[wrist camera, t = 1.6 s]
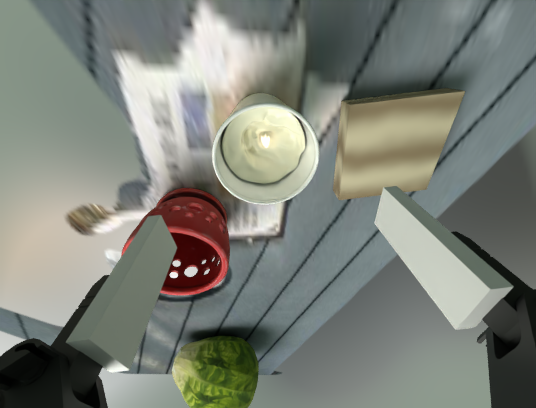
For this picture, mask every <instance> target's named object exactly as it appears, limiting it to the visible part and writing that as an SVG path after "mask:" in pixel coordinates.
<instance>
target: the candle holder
mask: <svg viewBox="0 0 536 408" xmlns="http://www.w3.org/2000/svg"><path fill="white" fill-rule="evenodd" d="M212 161H213V167H214V170H215V173H216V175H217V177H218V179H219V181H220V182H221V184H222V185H223V186H224V187H225V188H226V189H227V190H228V191H229V192H230V193H231V194H233V195H234V196H235V197H237V198H239V199H241V200H243V201H246V202H249V203H253V204H259V205H270V204H276V203H280V202H283V201H286V200H288V199H290V198H292V197H294V196H295V195H297V194H298V193H300V192H301V191H302V190H303V189H304V188H305V187H306V186H307V185H308V184H309V182H310V181H311V179H312V178H313V176H314V174H315V172H316V169H317V166H318V161H319V144H318V140H317V136H316V134H315V132H314V130H313V128H312V126H311V125H310V123H309V122H308V121H307V120H306V119H305V118H304V117H303V116H302V115H301V114H300V113H299V112H297V111H296V110H294V109H292V108H290V107H289V106H288V105H287V104H285V103H284V102H283V101H281V100H280V99H278V98H277V97H275V96H273V95H270V94H266V93H256V94H252V95H249V96H247V97H245V98H244V99H242V100H241V101H240V102H239V103H238V104H237V105H236V107H235V108H234V109H233V111H232V112H231V114H230V115H229V117H228V118H227V119H226V120H225V122H224V123H223V124H222V125H221V127H220V128H219V130H218V132H217V134H216V137H215V139H214V143H213V148H212Z"/></svg>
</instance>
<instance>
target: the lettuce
mask: <svg viewBox="0 0 536 408" xmlns="http://www.w3.org/2000/svg"><path fill="white" fill-rule="evenodd" d="M172 374H173V378H174V381H175V383H176V384H177V386H178V387H179V389H180V391H181V393H182V395H183V398H184V400H185V401H186V403H187V404H188V405H189V407H190V408H248V406H249V405H250V404H251V401H252V400H253V396H254V393H255V390H256V387H257V381H258V360H257V357H256V354H255V351H254V349H253V348H252V347H251V346H250V344H249V343H248V342H246V341H245V340H243V339H242V338H238V337H234V336H215V337H210V338H206V339H203V340H200V341H197V342H191V343H188V344H186V345H184V346H183V347H181V349H180V350H179V352H178V354H177V356H176V357H175V360H174V364H173V368H172Z"/></svg>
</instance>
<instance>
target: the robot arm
mask: <svg viewBox="0 0 536 408" xmlns="http://www.w3.org/2000/svg"><path fill="white" fill-rule="evenodd" d="M375 225H376V226H377V227H378V229H379V230H380V231H381V233H382V234H383V235H384V236H385V238H386V239H387V240H388V242H389V243H390V244H391V246H392V247H393V248H394V250H395V251H396V252H397V253H398V255H399V256H400V257H401V259H402V260H403V261H404V263H405V264H406V265H407V267H408V268H409V269H410V271H411V272H412V273H413V274H414V276H415V277H416V278H417V280H418V281H419V282H420V284H421V285H422V286H423V287H424V289H425V290H426V291H427V293H428V294H429V295H430V297H431V298H432V299H433V301H434V302H435V303H436V305H437V306H438V307H439V309H440V310H441V311H442V312H443V313H444V315H445V316H446V318H447V319H448V320H449V321H450V323H451V324H452V326H453V327H454V328H455V329H456V330H458V329H466V328H474V327H476V326H477V325H478V324H479V322H480V321H481V320H483V321H484V322H485V323H486V324H487V325H488V326H489V327H488V328H487V329H486V330H485V331H484V332H483V333H482V334H481V335H480V336H479V337H478V339H477V342H478V343H482V342H483V341H484V340H485V339H486V340H487V345H486V347H487V353H488V367H489V380H490V393H491V407H492V408H536V289H534V290H533V289H532V288H530V287H529V286H528V285H526V284H525V283H524V282H523V281H521V280H520V279H519V278H518V277H517V276H515V275H514V274H513V273H512V272H510V271H509V270H508V269H507V268H505V267H504V266H503V265H502V264H501V263H499V262H498V261H497V260H496V259H494V258H493V257H490V255H489V254H488V253H487V252H486V251H484V250H483V249H481V247H480V246H478V245H477V244H476V243H475V242H473V241H472V240H471V239H470V238H468V237H466V236H464V235H462V234H460V233H458V232H450V231H449V230H447V229H446V228H445V227H444V226H443V225H441V224H440V223H439V222H438V221H437V220H436V219H435V218H433V217H432V216H431V215H430V214H429V213H428V212H426V211H425V210H424V209H423V208H422V207H421V206H419V205H418V204H417V203H416V202H415V201H414V200H412V199H411V198H410V197H409V196H408V195H407V194H405V193H404V192H403V191H402V190H401V189H400V188H398V187H397V186H391V187H383V191H382V195H381V199H380V203H379V207H378V211H377V215H376V219H375ZM176 250H177V246H176V244H175V242H174V240H173V238H172V236H171V234H170V232H169V230H168V228H167V226H166V224H165V222H164V220H163V218H162V216H161V215H156V216H148V217H147V219H146V220H145V222H144V223H143V225H142V226H141V228H140V229H139V231H138V232H137V234H136V235H135V237H134V239H133V240H132V242H131V243H130V245H129V246H128V248H127V249H126V251H125V252H124V254H123V255H122V257H121V258H120V260H119V261H118V263H117V264H116V266H115V268H114V269H113V271H112V272H111V274H110V275H105V276H103V277H102V278H101V279H100V280H99V281H97V282H96V283H95V284H94V285H93V286H92V288H91V289H90V291H89V292H88V293H87V295H86V296H85V299H83V301H82V302H81V303H80V305H79V306H78V307H79V308H78V309H76V311H75V312H74V313H73V315H72V316H71V318H70V319H69V321H68V322H67V324H66V325H65V326H64V328H63V329H62V331H61V332H60V334H59V335H58V336H57V338H56V339H55V341H54V342H53V344H52V345H51V346H49V345H47V344H46V343H44V342H42V341H41V340H39V339H35V338H33V339H29V340H25V341H23V342H21V343H19V344H17V345H15V346H13V347H12V348H11V349H9V350H8V351H6V352H5V353H4V354H3V355H2V356H0V408H108V406H107V403H106V398H105V393H104V388H103V384H102V380H101V379H100V377H99V376H98V375H99V373H100V371H101V369H102V367H103V368H105V369H106V370H108V371H109V372H119V371H127V370H130V368H131V365H132V363H133V360H134V358H135V355H136V353H137V350H138V347H139V345H140V342H141V340H142V337H143V335H144V332H145V329H146V327H147V324H148V322H149V319H150V317H151V314H152V311H153V309H154V306H155V304H156V301H157V299H158V296H159V293H160V291H161V288H162V286H163V283H164V281H165V278H166V275H167V273H168V270H169V268H170V265H171V263H172V260H173V257H174V255H175V252H176Z"/></svg>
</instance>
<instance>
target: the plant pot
mask: <svg viewBox="0 0 536 408" xmlns="http://www.w3.org/2000/svg"><path fill="white" fill-rule="evenodd" d="M156 215H161V216H162V218H163V220H164V222H165V224H166V226H167V228H168V230H169V232H170V234H171V236H172V238H173V240H174V242H175V244H176V246H177V250H176V252H175V255H174V257H173V260H172V262H173V261H175V260H178V261H180V262H181V265H180V266H179V267H174V266H173V264H172V263H171V265H170V268H169V270H168V273H167V275H166V278H165V281H164V283H163V286H162V288H161V291H160V293H164V294H170V295H191V294H196V293H200V292H204V291H206V290H208V289H211V288H212V287H214V286H215V285H217V284H218V283H219V282H220V281H221V280H222V279H223V278H224V277H225V275H226V274H227V271H228V267H229V256H230V246H229V234H228V229H227V226H226V225H227V214H226V211H225V209H224V207H223V206H222V204H221V203H220V202H219V201H218V200H217V199H216V198H215V197H214V196H212V195H211V194H209V193H207V192H204V191H202V190H199V189H193V188H182V189H177V190H174V191H171V192H169V193H167V194H166V195H164V196H163V197H162V198H161V199H160V201H159V202H158V204H157V206H156V207H155V208H154V209H153V210H151V211H150V212H149V213H148V214H147V215H146V216H145V217H144V218H143V219H142V220H141V222H140V223H139V225H138V226H137V227H136V229H135V230H134V231H133V232H132V234H131V235H130V237H129V238H128V240H127V242H126V243H125V245H124V247H123V250H122V255H123V254H124V252H125V251H126V249H127V248H128V246H129V245H130V243H131V242H132V240H133V239H134V237H135V235H136V234H137V232H138V231H139V229H140V228H141V226H142V225H143V223H144V222H145V220H146V219H147V217H148V216H156ZM122 255H121V257H122ZM214 257H215V259H214V261H213V262H212V259H213V258H214ZM203 260H206V263H205V264H202V261H203ZM219 260H220V262H219V264H218V261H219ZM217 264H218V266H217ZM192 266H193V267H196V268H197V269H198V272H197V273H196V275H194V276H193V277H187V276H186V275H185V274H184V271H185V269H187V268H188V267H192ZM207 269H210V271H209V273H208V274H206V275H204V272H205V271H206V270H207ZM171 272H176V273H178V277H177V278H171V277H170V276H169V274H170V273H171Z"/></svg>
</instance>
